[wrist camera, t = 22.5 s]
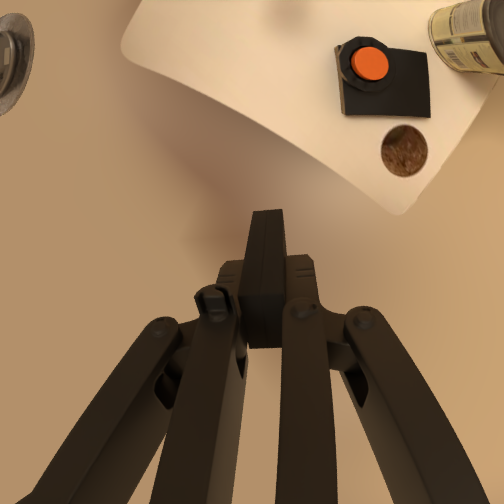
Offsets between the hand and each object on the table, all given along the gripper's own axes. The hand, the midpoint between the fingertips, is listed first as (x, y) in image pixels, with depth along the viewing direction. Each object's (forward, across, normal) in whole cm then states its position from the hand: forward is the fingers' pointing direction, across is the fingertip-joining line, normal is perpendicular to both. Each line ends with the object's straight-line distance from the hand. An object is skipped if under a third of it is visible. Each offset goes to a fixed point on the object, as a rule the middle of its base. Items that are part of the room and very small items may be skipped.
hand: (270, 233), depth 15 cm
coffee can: (+25, +28, +16) cm, 41 cm away
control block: (+24, +15, +8) cm, 30 cm away
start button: (+21, +12, +10) cm, 26 cm away
